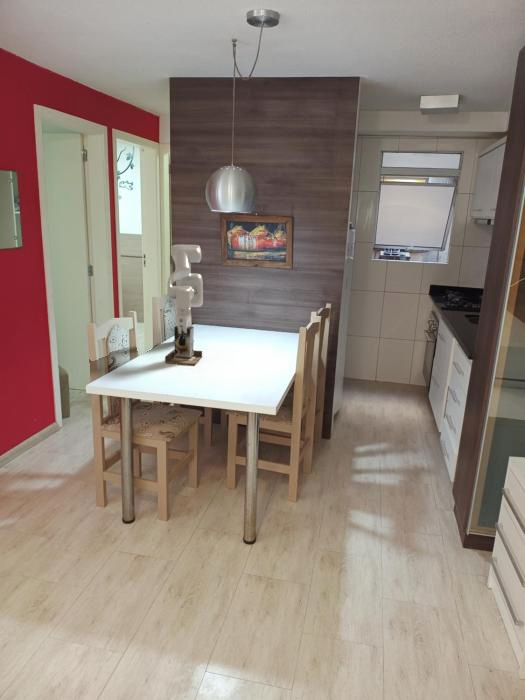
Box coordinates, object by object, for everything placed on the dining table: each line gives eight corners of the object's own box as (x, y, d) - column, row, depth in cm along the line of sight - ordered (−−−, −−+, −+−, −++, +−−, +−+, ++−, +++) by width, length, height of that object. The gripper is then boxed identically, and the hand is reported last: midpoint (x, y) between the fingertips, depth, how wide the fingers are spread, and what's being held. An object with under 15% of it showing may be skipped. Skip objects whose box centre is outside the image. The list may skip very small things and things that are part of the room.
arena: (174, 356, 294) (174, 349, 293) (202, 357, 292) (202, 350, 291) (165, 363, 279) (165, 356, 278) (194, 365, 277) (194, 358, 276)
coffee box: (174, 356, 285) (173, 327, 281) (178, 353, 291) (177, 324, 287) (190, 357, 283) (189, 328, 279) (194, 354, 289) (193, 326, 285)
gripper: (186, 314, 272) (186, 348, 277) (194, 308, 289) (194, 340, 293) (172, 314, 273) (172, 347, 278) (181, 308, 290) (181, 339, 294)
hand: (184, 343), depth 285 cm, fingers closed on coffee box, 6 cm apart
